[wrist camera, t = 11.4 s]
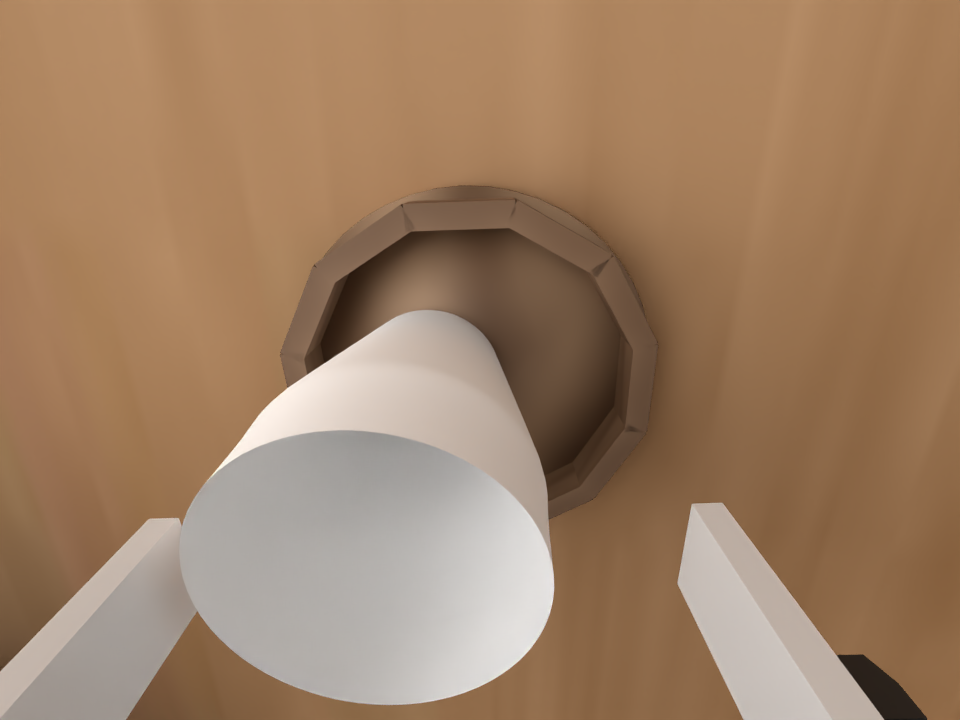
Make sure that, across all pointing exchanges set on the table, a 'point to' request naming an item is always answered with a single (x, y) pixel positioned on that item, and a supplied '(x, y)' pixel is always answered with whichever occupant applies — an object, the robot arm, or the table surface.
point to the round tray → (501, 317)
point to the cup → (380, 523)
